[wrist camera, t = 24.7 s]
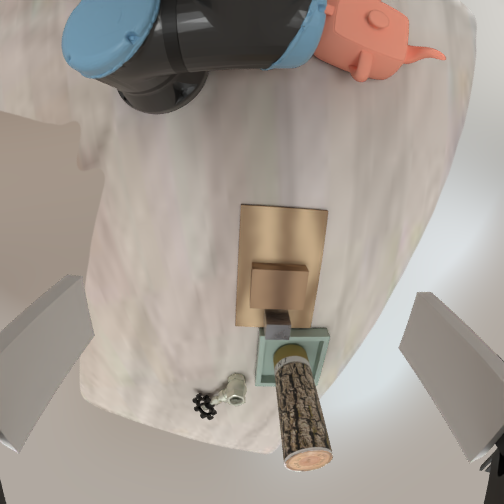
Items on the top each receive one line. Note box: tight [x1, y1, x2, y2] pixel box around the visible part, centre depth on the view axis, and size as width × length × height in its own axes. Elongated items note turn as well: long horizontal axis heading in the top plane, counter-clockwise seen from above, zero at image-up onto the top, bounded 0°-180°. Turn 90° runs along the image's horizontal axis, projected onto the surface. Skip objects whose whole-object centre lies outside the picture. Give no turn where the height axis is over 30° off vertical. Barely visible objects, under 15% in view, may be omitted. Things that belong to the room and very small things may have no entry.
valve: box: [193, 373, 247, 420], centre depth 55 cm, size 7×7×12 cm
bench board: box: [235, 204, 328, 328], centre depth 49 cm, size 14×22×1 cm, turn 177°
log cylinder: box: [273, 344, 333, 472], centre depth 43 cm, size 7×7×25 cm
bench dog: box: [263, 309, 291, 340], centre depth 48 cm, size 4×3×6 cm
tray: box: [255, 327, 330, 386], centre depth 54 cm, size 13×13×3 cm
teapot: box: [314, 0, 446, 82], centre depth 31 cm, size 17×16×13 cm
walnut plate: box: [250, 262, 309, 310], centre depth 48 cm, size 9×7×3 cm
